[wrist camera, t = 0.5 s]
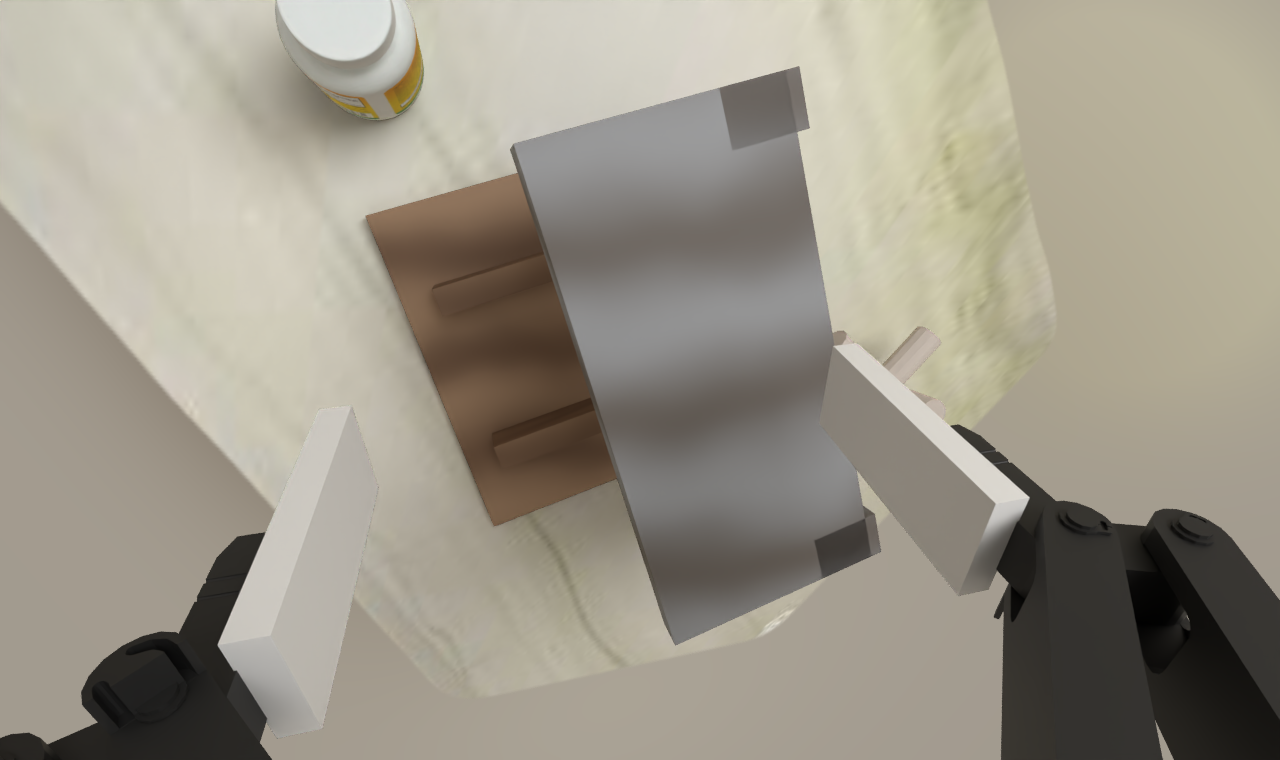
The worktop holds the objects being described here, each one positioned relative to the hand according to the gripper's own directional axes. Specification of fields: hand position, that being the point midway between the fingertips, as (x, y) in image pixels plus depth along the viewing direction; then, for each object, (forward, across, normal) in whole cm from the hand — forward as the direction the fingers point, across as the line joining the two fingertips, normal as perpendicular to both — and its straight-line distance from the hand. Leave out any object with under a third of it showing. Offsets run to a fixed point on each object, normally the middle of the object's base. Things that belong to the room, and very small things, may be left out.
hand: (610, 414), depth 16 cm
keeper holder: (+20, +1, -8) cm, 22 cm away
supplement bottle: (+24, -8, +7) cm, 26 cm away
